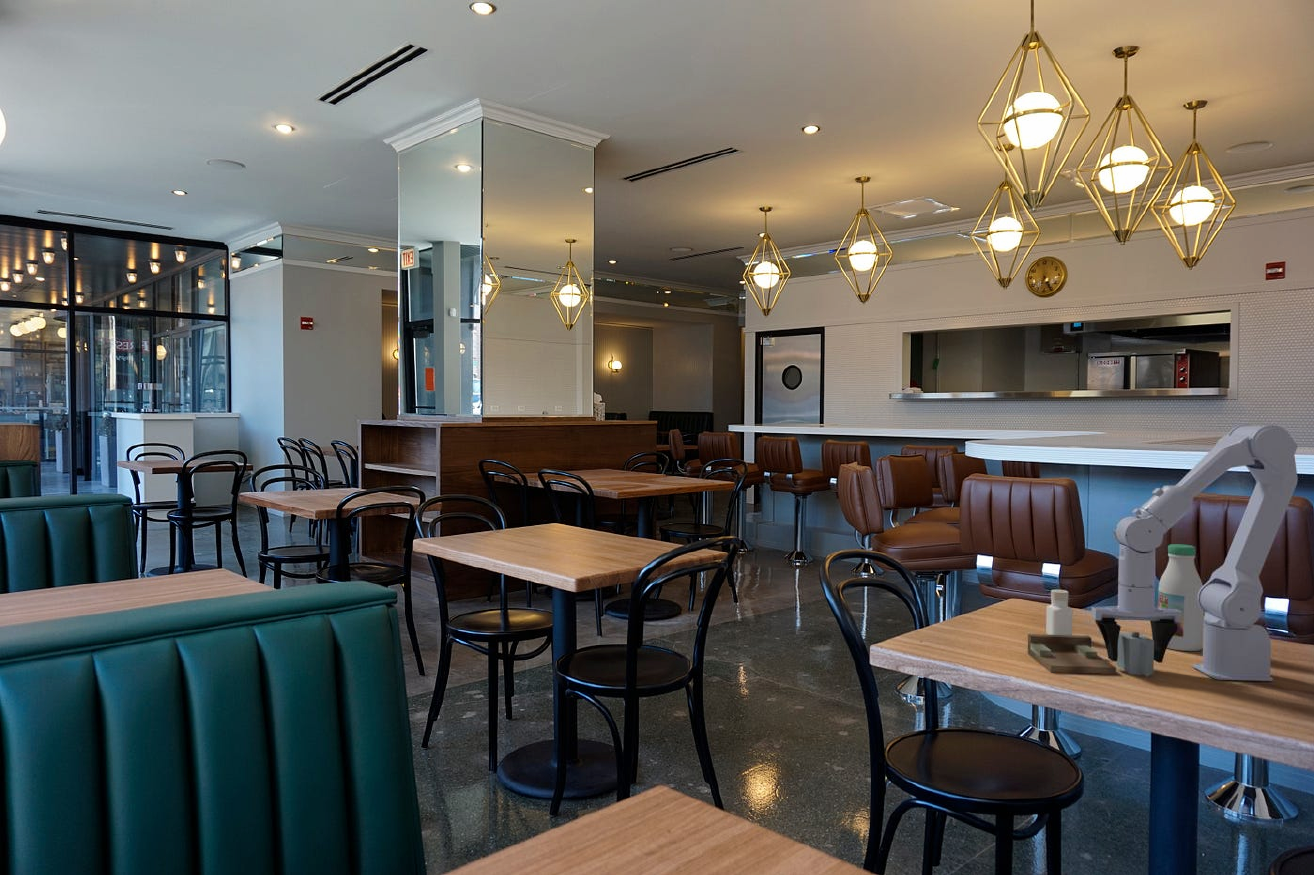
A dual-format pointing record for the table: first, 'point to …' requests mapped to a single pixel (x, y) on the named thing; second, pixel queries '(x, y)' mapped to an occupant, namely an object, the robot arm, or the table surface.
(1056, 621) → the pepper shaker
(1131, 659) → the grey knobbed box
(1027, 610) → the table surface
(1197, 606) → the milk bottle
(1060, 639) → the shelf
